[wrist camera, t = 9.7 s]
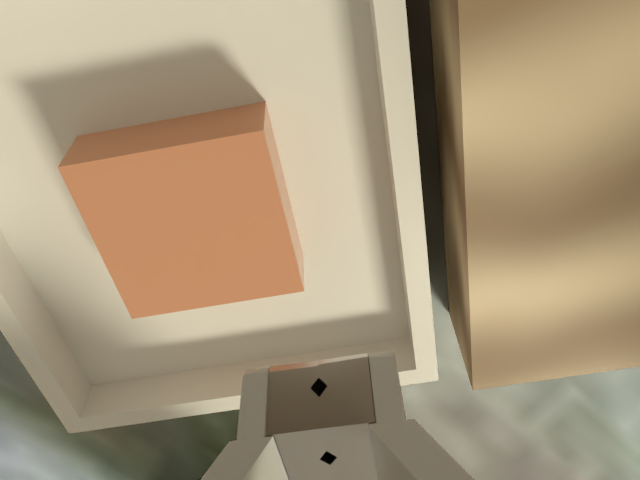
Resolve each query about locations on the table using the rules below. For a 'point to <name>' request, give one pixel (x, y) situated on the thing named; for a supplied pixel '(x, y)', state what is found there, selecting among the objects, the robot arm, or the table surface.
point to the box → (299, 172)
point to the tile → (188, 210)
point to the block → (540, 184)
